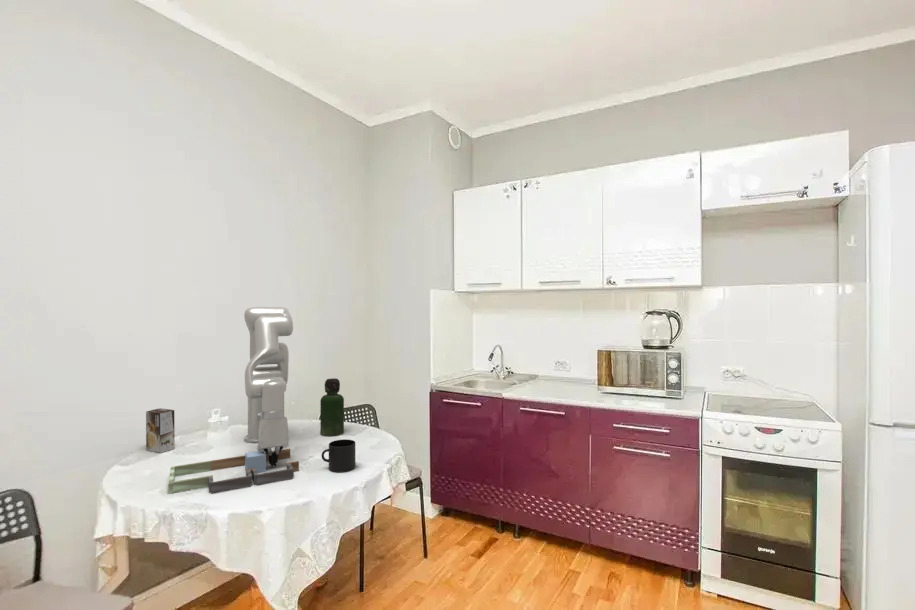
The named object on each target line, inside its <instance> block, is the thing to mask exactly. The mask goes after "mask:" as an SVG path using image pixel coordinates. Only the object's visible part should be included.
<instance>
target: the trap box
mask: <svg viewBox="0 0 915 610" xmlns="http://www.w3.org/2000/svg"><path fill="white" fill-rule="evenodd" d="M272 453H274V450H272ZM265 454H266V463H267V462H268V463H269V455H268V454H267V453H266V452H265ZM290 458H291V449H290V448H284V449H282V450H281V451H280V452H279V454H278V461H279V460H286V459H290ZM241 466H245V455H239V456H232V457H227V458H219V459H214V460H207V461H200V462H194V463H187V464H181V465H173V466H170V470H169V476H168V484H167V485H168V488H167V489H168V493H167V494H168V495H172V494H175V492H177V493H181V492H180V491H183V492H187V491H186V490H188V491H192V490H191V489H194V490H198V488H200V489H204V488H208V494H209V493H211V494H217V493H224V492H228V491H233V490H234V489H235V490H239V489H240V490H241V489H244V488H249V487H251V486H253V485H256V486H261V485H266V484H267V485H268V484H271V483H278V482H282V481H288V480H292V479H293V478H294V473H295V472H299V471H300V462H299V460H295V461H290V462H289V461H288V462H286V465H285V467H286V468H285V469H280V470H274V471H269V472H261V473H257V470H256V468H253V469H247V470H246V471H245V476H240V477H234V478H229V479H222V480H215V481H214V475H205V476H199V477H194V478H188V479H182V480H175V479H176V478H175V477H178V476H179V477H180V476H186V474H187V475H193V474H199V473H205V472H209V471H210V472H211V471H216V470H217V471H218V470H223V469H224V470H225V469H229V468H235V467H241Z"/></svg>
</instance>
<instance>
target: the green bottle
mask: <svg viewBox="0 0 915 610" xmlns="http://www.w3.org/2000/svg"><path fill="white" fill-rule="evenodd" d="M340 387H341V382H340V380H339V379H338V378H334V377H333V378H326V380H325V382H324V391H325V393H326V394H324V395H323V396H322V397H321V398H320V403H319V404H320V406H319V408H320V409H319V410H320V411H319V412H320V423H319V424H320V426H319V427H320V432H319V433H320V435H322V436H324V437H335V436H339V435H342V434H344V433H345V404H344V403H345V397H344V396H343V395H342V394H339V392H340Z"/></svg>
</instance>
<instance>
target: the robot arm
mask: <svg viewBox="0 0 915 610" xmlns="http://www.w3.org/2000/svg"><path fill="white" fill-rule="evenodd" d="M243 317H244V322H245V325H246V327H247V329H248V332H249V362H248V363H247V365H246V368H245V370H244V390H245V395H246V397H247V435H245V436H244V437H243V441H244V442H246V443H257V448H256V449H257V450H256V451H262V452H266V453H267V454H268V455H269V461H268V464H269V465H270V466H271V467H276V466H277V463H278V462H279V460H278V454H279V452H280V451H281V450H284V449H287V448H288V447H289V446H290V444H289V442H290V436H289V434H290V432H289V423H288V418H287V416H285V392H286V391H287V384H288V381H289V360H290V359H289V357H290V356H289V355H290V354H289V348H288V345H287V344H286V343H284V342H279V337H290V336H291V335H293V331H294V322H293V318H292V316H291V314H290V312H289V309H288V308H286V307H282V306H277V307H276V306H274V307H273V306H254V307H250V308H247V309H245V311H244V314H243ZM261 365H262V366H261ZM263 365H264V366H263ZM266 365H270V366H266ZM272 365H273V366H272ZM274 365H276V366H274ZM272 448H274V450H272ZM272 451H274V453H272Z"/></svg>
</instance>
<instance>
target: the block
mask: <svg viewBox="0 0 915 610" xmlns="http://www.w3.org/2000/svg"><path fill="white" fill-rule="evenodd" d="M244 456H245V465H244V470H245V472H246V470H247V469H253V468H256V470H257V473H258V474H261V473H267V462H266V454H265V452H262V451H258V450H256V451H248V452H245V453H244Z"/></svg>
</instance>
